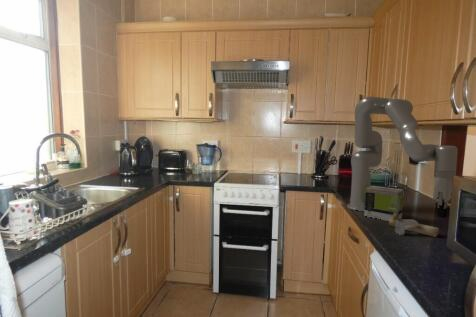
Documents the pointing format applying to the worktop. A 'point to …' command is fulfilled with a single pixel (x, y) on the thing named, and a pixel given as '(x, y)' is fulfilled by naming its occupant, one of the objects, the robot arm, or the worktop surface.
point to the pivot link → (416, 227)
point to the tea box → (383, 202)
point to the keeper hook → (403, 225)
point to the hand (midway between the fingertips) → (441, 216)
